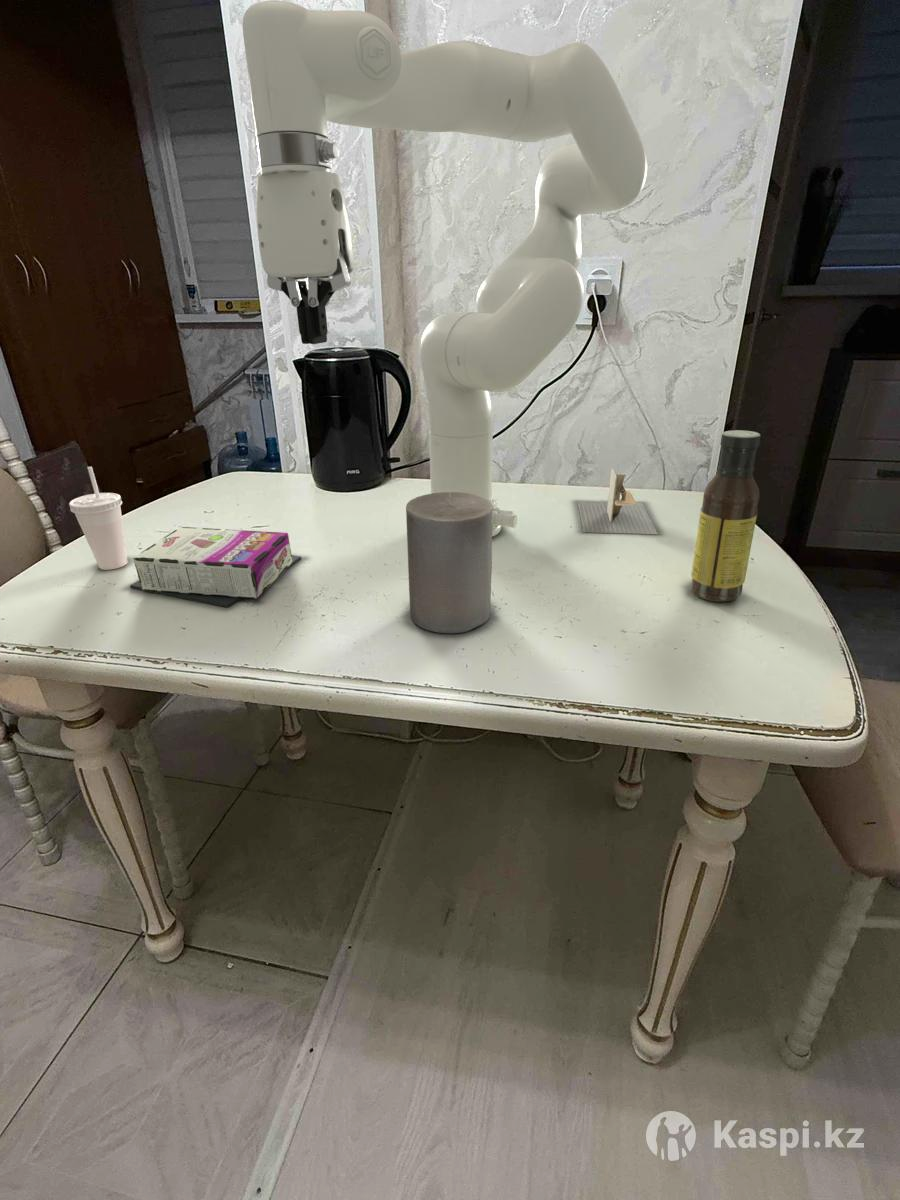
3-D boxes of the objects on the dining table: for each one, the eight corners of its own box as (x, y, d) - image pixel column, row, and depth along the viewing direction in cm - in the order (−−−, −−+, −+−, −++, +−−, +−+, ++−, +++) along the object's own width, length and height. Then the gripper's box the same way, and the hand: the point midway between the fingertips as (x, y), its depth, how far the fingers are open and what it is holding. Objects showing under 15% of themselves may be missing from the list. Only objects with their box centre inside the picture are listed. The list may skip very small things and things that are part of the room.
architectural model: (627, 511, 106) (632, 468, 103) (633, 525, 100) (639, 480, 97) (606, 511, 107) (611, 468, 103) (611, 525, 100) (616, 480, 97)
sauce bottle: (746, 589, 79) (782, 431, 70) (733, 608, 75) (770, 442, 66) (695, 577, 83) (722, 425, 74) (680, 595, 78) (707, 435, 69)
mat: (301, 558, 90) (301, 556, 90) (227, 607, 77) (227, 604, 77) (213, 544, 96) (212, 542, 95) (130, 587, 82) (129, 585, 82)
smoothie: (147, 559, 91) (123, 464, 84) (109, 576, 86) (80, 477, 79) (116, 552, 93) (90, 460, 87) (78, 569, 88) (47, 471, 82)
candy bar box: (294, 565, 87) (188, 556, 90) (289, 531, 85) (180, 524, 88) (257, 602, 78) (139, 591, 81) (250, 566, 75) (130, 555, 78)
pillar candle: (413, 595, 79) (408, 480, 72) (490, 596, 79) (492, 480, 72) (406, 634, 70) (399, 508, 64) (492, 635, 70) (495, 507, 63)
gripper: (372, 159, 68) (383, 341, 76) (259, 170, 73) (281, 339, 81) (336, 148, 62) (353, 347, 70) (216, 160, 67) (244, 344, 75)
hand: (314, 342), depth 76 cm, fingers closed
